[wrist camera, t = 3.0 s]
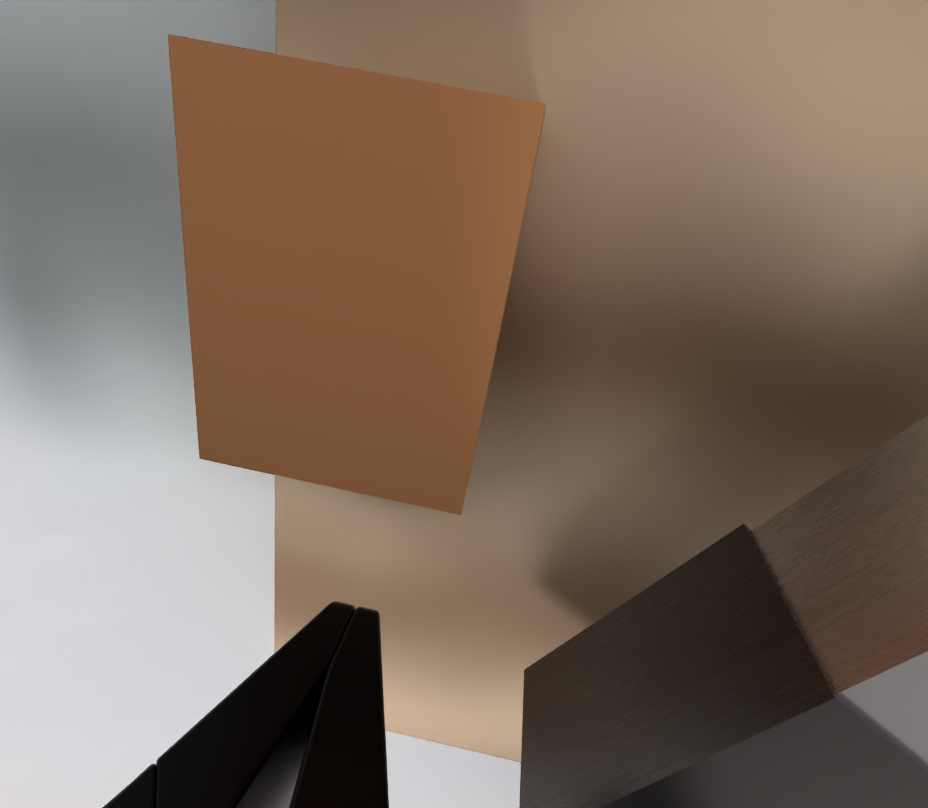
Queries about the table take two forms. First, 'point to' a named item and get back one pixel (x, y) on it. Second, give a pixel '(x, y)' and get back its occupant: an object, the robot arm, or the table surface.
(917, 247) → the serving board
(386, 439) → the tan rectangular block
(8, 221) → the table surface
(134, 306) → the table surface
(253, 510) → the table surface
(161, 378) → the table surface
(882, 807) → the tongs upper
